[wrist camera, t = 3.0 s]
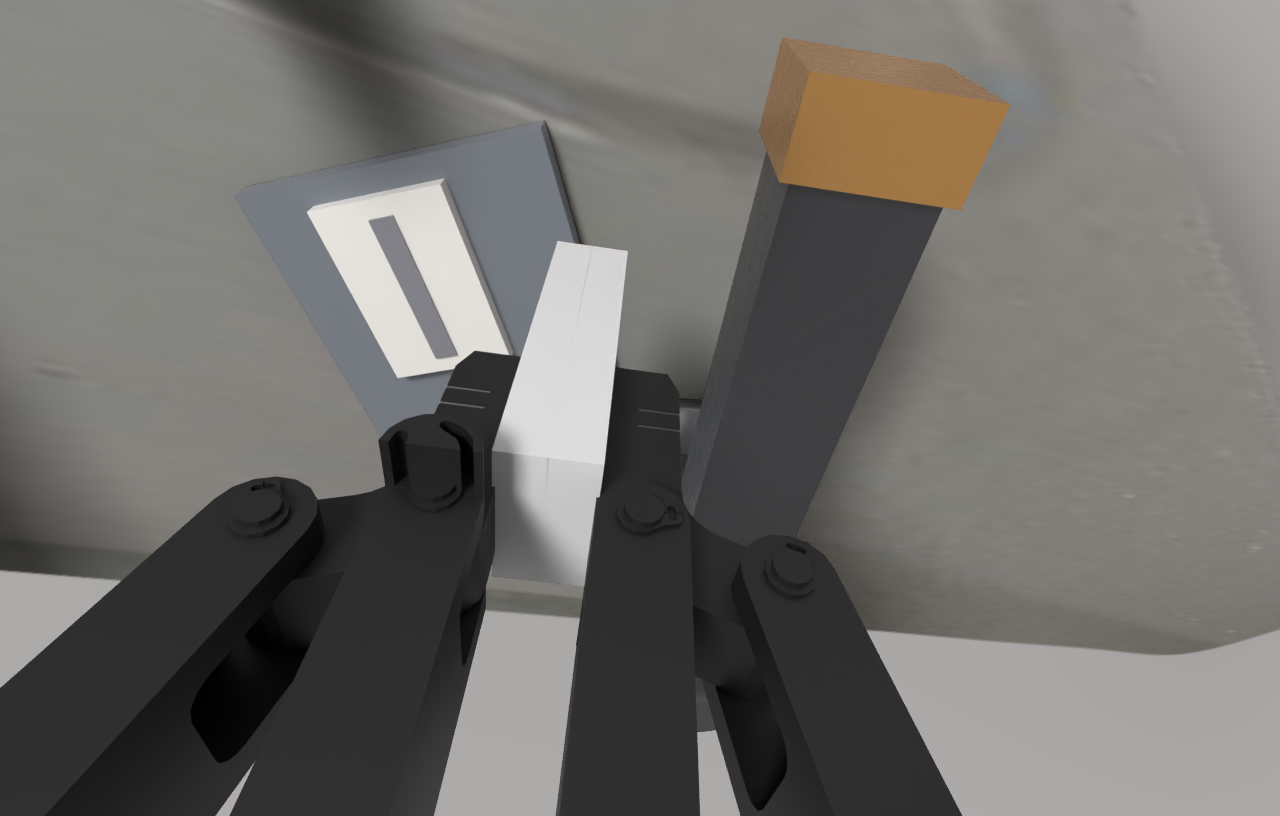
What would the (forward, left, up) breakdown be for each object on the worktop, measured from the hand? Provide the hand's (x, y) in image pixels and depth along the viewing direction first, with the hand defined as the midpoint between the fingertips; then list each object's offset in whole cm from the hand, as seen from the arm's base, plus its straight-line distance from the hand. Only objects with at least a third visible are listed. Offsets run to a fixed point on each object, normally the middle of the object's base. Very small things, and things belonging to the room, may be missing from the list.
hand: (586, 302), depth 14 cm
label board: (-6, -5, -8) cm, 11 cm away
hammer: (+3, -6, -1) cm, 6 cm away
